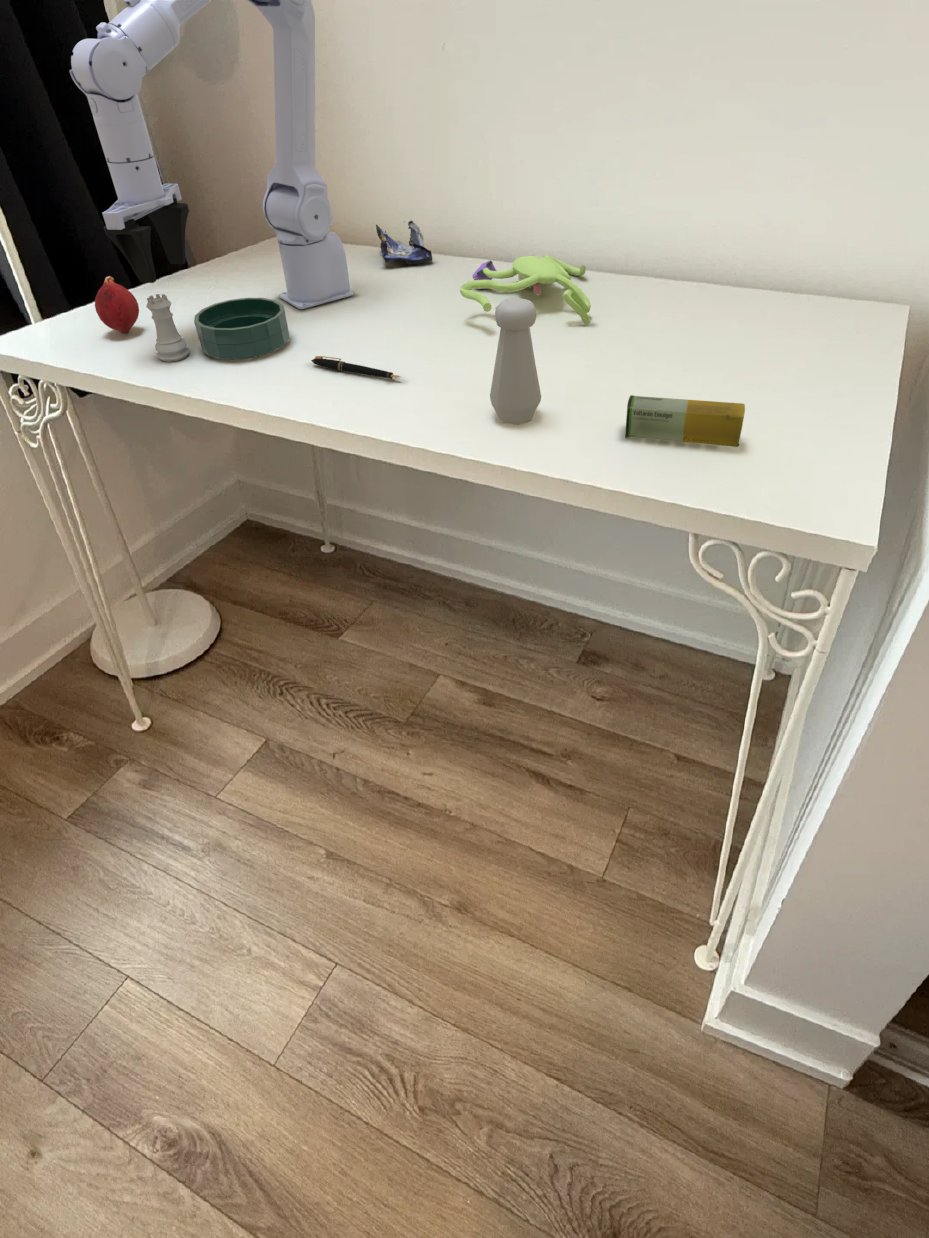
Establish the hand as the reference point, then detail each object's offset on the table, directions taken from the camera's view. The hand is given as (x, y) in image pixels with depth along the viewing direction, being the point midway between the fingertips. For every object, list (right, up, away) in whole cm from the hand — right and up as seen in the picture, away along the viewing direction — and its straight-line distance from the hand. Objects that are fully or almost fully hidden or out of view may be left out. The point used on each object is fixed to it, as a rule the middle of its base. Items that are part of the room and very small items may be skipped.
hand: (163, 272), depth 106 cm
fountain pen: (+27, -15, -4) cm, 31 cm away
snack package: (+30, +16, +32) cm, 47 cm away
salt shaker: (+47, -24, -16) cm, 55 cm away
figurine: (+51, +1, +13) cm, 52 cm away
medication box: (+64, -28, -21) cm, 73 cm away
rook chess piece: (0, -11, +3) cm, 11 cm away
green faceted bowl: (+10, -8, +5) cm, 14 cm away
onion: (-10, -5, +10) cm, 15 cm away
